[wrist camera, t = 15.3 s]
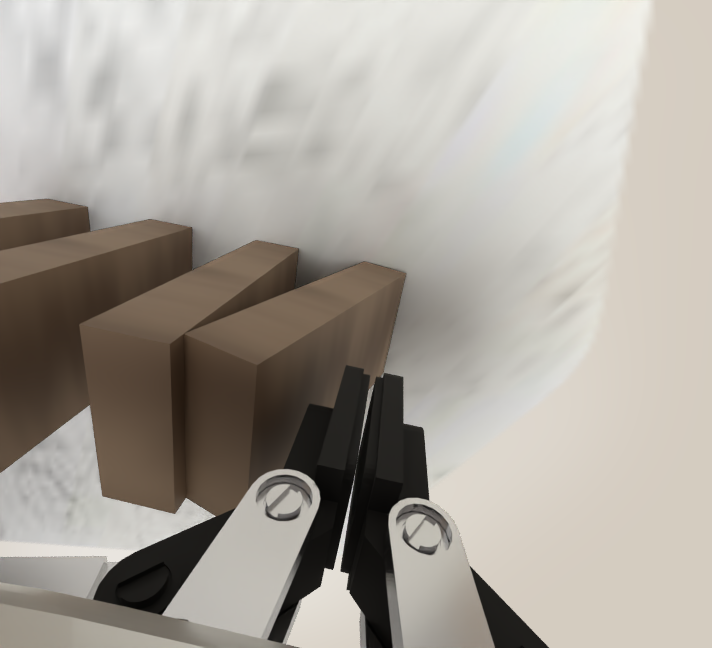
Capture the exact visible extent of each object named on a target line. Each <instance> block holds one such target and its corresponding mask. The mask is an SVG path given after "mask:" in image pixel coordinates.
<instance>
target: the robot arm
mask: <svg viewBox="0 0 712 648" xmlns="http://www.w3.org/2000/svg"><path fill="white" fill-rule="evenodd" d="M363 373H364V369H363V368H358V367H353V366H348V365H346V367H345V370H344V374H343V377H342V381H341V384H340V387H339V391H338V394H337V398H336V401H335V405H334V408H329V407H324V406H320V405H315V404H309V406H308V408H307V410H306V413H305V415H304V418H303V420H302V423H301V425H300V428H299V430H298V433H297V435H296V438H295V441H294V443H293V446H292V448H291V451H290V453H289V456H288V458H287V461H286V463H285V466H284V468H283V469H278V470H274V471H271V472H268V473H266V474H264V475H262V476H261V477H259V478H258V479H257V480H256V481H255V482H254V483H253V484H252V486H251V487H250V489H249V490H248V491H247V493H246V494H245V496H244V497H243V499H242V500H241V502H240V503H239V504H238V506H237V507H236V508H234V509H232V510H230V511H227V512H225V513H223V514H221V515H218V516H216V517H214V518H212V519H209V520H207V521H205V522H203V523H200V524H198V525H196V526H194V527H191V528H189V529H187V530H184V531H182V532H180V533H178V534H175V535H173V536H171V537H169V538H166V539H164V540H162V541H160V542H157V543H155V544H153V545H151V546H148V547H146V548H144V549H141V550H139V551H137V552H135V553H133V554H131V555H130V556H128V557H126V558H125V559H123V560H121V561H120V562H107V558H106V556H100V557H99V556H93V557H92V556H90V557H0V648H298V647H294V646H290V645H286V643H287V640H288V637H289V635H290V632H291V629H292V627H293V624H294V622H295V619H296V616H297V614H298V611H299V608H300V605H301V600H302V598H304V597H305V596H307V595H308V594H310V593H311V592H313V591H314V590H316V589H317V588H318V587H320V586H321V581H322V577H323V572H324V568H327V569H332V570H333V568H334V564H335V560H336V555H337V551H338V547H339V542H340V538H341V534H342V529H343V525H344V520H345V516H346V512H347V507H348V503H349V498H350V494H351V490H352V485H353V481H354V486H353V493H352V499H351V505H350V512H349V518H348V525H347V531H346V538H345V544H344V551H343V557H342V564H341V572H345V573H349V576H348V584H347V590H350V594H351V596H352V597H353V599H354V600H355V602H356V603H357V605H358V606H359V608H360V609H361V613H360V646H361V648H549V647H548V646H547V645H546V644H545V643H544V642H543V641H542V640H541V639H540V638H539V637H538V636H537V635H536V634H535V633H534V632H533V631H532V630H531V629H530V628H529V627H528V626H527V625H526V623H525V622H524V621H523V620H522V619H521V618H520V617H519V616H518V615H517V614H516V613H515V612H514V611H513V610H512V609H511V608H510V607H509V606H508V605H507V604H506V603H505V602H504V601H503V600H502V599H501V598H500V597H499V596H498V594H497V593H496V592H495V591H494V590H493V589H492V588H491V587H490V586H489V585H488V584H487V583H486V582H485V581H484V580H483V579H482V578H481V577H480V576H479V575H478V574H477V573H476V572H475V571H474V570H473V569H472V568H471V567H470V565H469V562H468V559H467V556H466V553H465V549H464V547H463V543H462V540H461V537H460V533H459V531H458V528H457V526H456V524H455V522H454V520H453V519H452V518H451V517H450V516H449V514H448V513H447V512H446V511H445V510H443V509H442V508H441V507H440V506H438V505H437V504H434V503H433V502H431V501H429V490H428V478H427V465H426V452H425V440H424V430H423V428H422V427H417V426H413V425H408V424H403V377H401V376H396V375H391V374H386V373H384V376H383V378H381V377H377V376H376V379H375V384H374V388H373V392H372V397H371V401H370V406H369V410H368V415H367V419H366V423H365V428H364V432H363V437H362V441H361V445H360V440H361V433H362V427H363V420H364V414H365V408H366V401H367V395H368V388H369V382H370V375H367V374H363ZM359 446H360V450H359ZM358 453H359V455H358ZM357 459H358V460H357ZM356 465H357V467H356ZM355 471H356V473H355ZM354 476H355V480H354Z"/></svg>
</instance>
